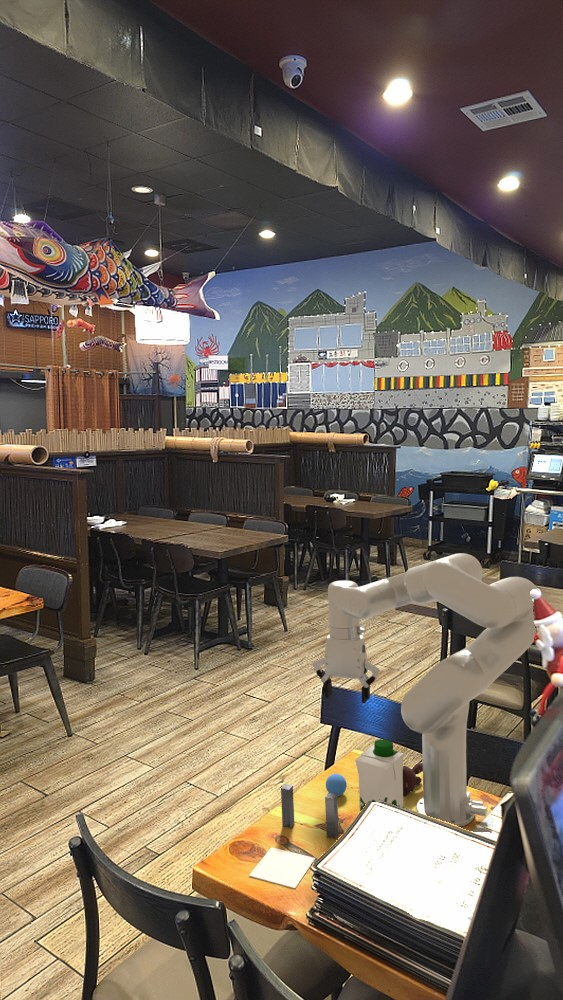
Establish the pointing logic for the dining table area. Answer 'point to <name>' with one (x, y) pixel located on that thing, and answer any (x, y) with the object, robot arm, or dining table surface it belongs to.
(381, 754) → the milk carton
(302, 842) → the dining table surface
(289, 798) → the left post
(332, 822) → the right post
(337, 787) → the ball
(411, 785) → the icecream
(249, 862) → the dining table surface
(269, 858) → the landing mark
